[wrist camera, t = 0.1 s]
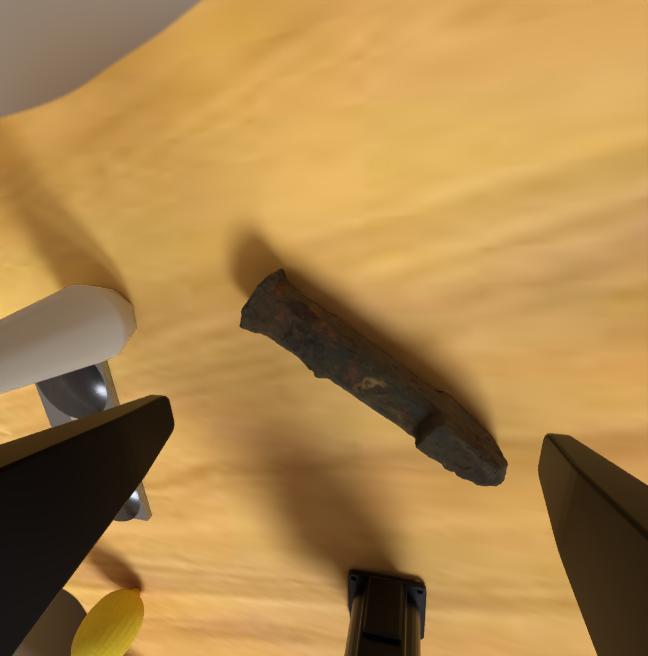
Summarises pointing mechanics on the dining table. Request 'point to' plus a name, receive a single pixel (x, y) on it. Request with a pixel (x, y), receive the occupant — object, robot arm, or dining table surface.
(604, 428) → the dining table surface
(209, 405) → the dining table surface
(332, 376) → the hand tool
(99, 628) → the lemon
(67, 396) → the plate
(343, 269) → the dining table surface
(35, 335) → the salt shaker
